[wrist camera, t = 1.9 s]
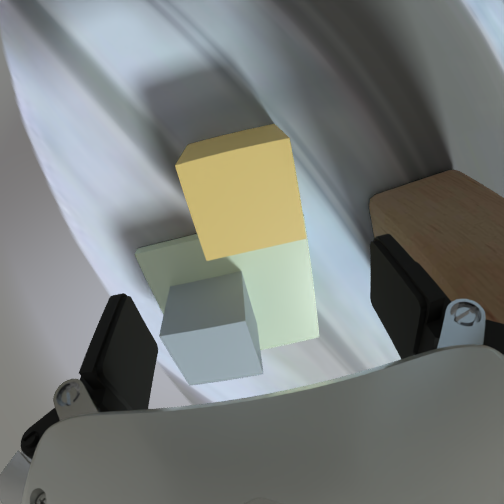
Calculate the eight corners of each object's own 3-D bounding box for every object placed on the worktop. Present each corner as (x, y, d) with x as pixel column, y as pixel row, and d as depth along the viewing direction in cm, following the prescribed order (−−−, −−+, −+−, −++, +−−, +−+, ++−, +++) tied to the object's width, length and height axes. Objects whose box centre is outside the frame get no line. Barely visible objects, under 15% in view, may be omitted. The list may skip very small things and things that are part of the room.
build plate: (137, 248, 25) (134, 254, 25) (301, 210, 25) (303, 215, 24) (190, 355, 33) (189, 362, 32) (317, 330, 32) (319, 336, 31)
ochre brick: (188, 144, 21) (174, 165, 16) (274, 123, 21) (289, 138, 16) (210, 220, 25) (206, 261, 20) (289, 202, 24) (306, 238, 19)
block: (362, 193, 24) (525, 394, 7) (454, 163, 23) (625, 293, 6) (377, 283, 29) (470, 462, 12) (456, 250, 28) (568, 389, 11)
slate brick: (169, 286, 26) (159, 336, 21) (241, 271, 26) (245, 320, 21) (193, 336, 30) (189, 385, 25) (257, 324, 29) (263, 374, 24)
